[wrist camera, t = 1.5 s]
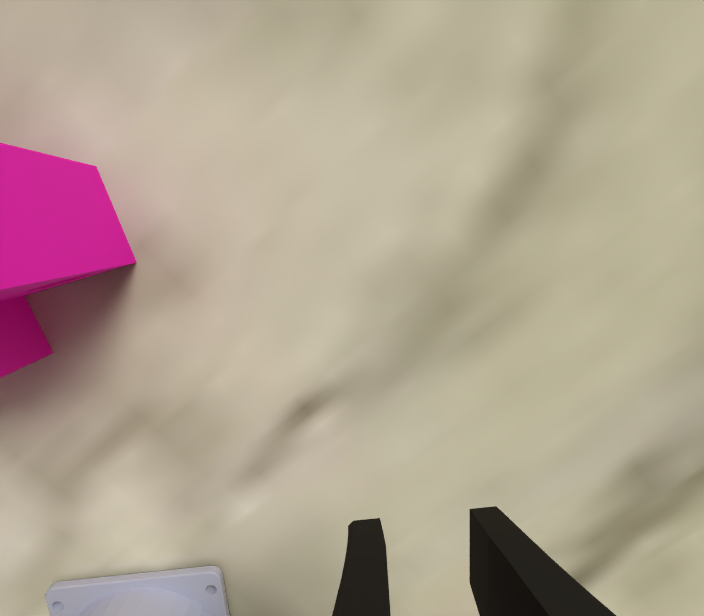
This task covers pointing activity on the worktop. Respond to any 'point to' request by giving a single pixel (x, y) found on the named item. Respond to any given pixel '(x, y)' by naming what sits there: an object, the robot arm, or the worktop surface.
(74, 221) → the toy block
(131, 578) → the robot arm
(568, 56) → the worktop surface
